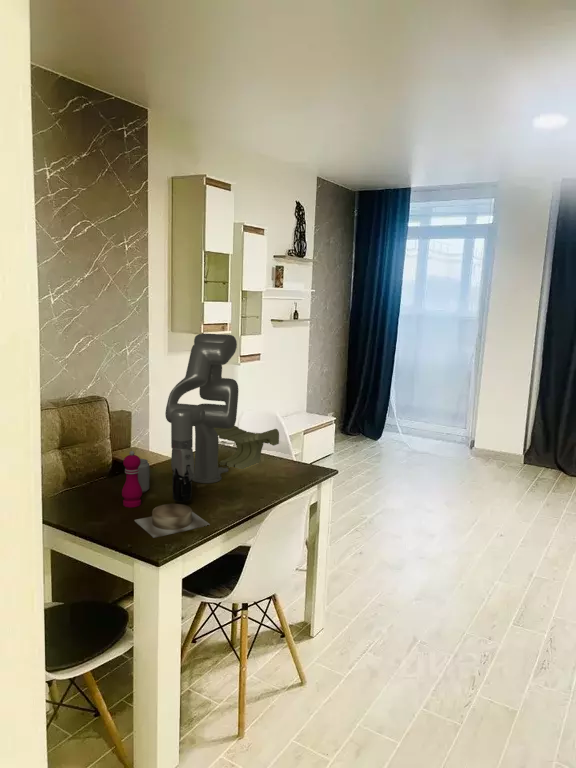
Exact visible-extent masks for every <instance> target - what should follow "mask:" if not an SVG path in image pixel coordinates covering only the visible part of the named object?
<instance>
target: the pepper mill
mask: <svg viewBox="0 0 576 768" xmlns="http://www.w3.org/2000/svg"><path fill="white" fill-rule="evenodd" d="M140 459H141V458H140V457H139V456H138V455H135V451H133V450H130V451H129V455H127V456H125V457H124V458H123V463H122V464H123V466H124V473H125V476H126V477H125V478H126V479H125V483H124V484H123V487H122V489H121V496H122V498H123V500H122V505H123V507H125V508H138V507H139V506H141V504H142V499H141V497H142V496H143V493H142V488H141V486H140V484H139V481H138V473H139V468H138V467H139V466H140V464H141V461H140Z"/></svg>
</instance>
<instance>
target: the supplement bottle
mask: <svg viewBox="0 0 576 768" xmlns="http://www.w3.org/2000/svg"><path fill="white" fill-rule="evenodd" d="M184 475H188V473H186V474H184ZM187 478H188V477H185V480H186V479H187ZM171 479H172V499H173V500H174V501H175V502H184V503H185V502H188V501H190V500H191V499H192V497H193V494H192V492H193V491H192V483H191V493H190V494H185V495H183V494H182V484H183V479H182V476H181V475H179V474H178V471H177V469H176V468H175V474H174V475H173V474H172V478H171Z"/></svg>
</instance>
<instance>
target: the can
mask: <svg viewBox="0 0 576 768" xmlns="http://www.w3.org/2000/svg"><path fill="white" fill-rule="evenodd" d="M140 461H141V464H140V466H139V467H138V468H139V473H138V481H139V484H140V486H141V488H142V494H143V493H146V492H147V491H148V490H149V489H150V463H149V461H148V459H145V458H140Z"/></svg>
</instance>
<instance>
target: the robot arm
mask: <svg viewBox="0 0 576 768" xmlns="http://www.w3.org/2000/svg"><path fill="white" fill-rule="evenodd" d="M237 346H238V342H237V339H236V337H235V336H234V335H232V334H221V333H200V334H197V335H195V337H194V340H193V345H192V347H191V350H190V353H189V354H190V355H189V358H188V364H187V368H186V372H185V376H184V378H182V379H181V380H180V381H179V382H177V383H176V385H175V386H174V387H173V388H172V390H171V391H170V392H169V395H168V398H167V401H166V402H167V403H166V408H165V419H166V421H167V422H168V423H170V425H171V426H170V433H171V434H170V437H171V438H170V440H171V443H170V444H171V445H170V447H171V458H170V460H171V462H170V463H171V464H170V467H171V470H172V476H173V475H174V474H175V468H176V469H177V471H178V474H179V475H181V476H182V479H183V484H182V494H183V495H185V494H190V493H191V484H192V483H193V482H195V483H198V484H213V483H217V482H220V481H221V480H222V479H223V478H222V473H228V472H229V467H223V466H220V467H219V443H220V442H219V441H220V438H219V436H218V435H217V433H216V431H215V429H214V428H226V429H229V428H233V427H234V426H236V422H237V415H238V402H239V385H238V382H237V381H236V380H235V379H233V378H227V377H222V373H223V365H226V364H228V362H230V360H231V359H232V357H233V356H234V354H235V353H236V351H237V348H238V347H237ZM198 388H199V391H198V392H199V393H198V394H199V397H200V398H201V399H202V400H205V401H213V402H224V403H225V404H217V403H200V404H188V403H180V402H179V400H180V399H181V397H182V396H184V395H185V394H187V393H188V392H190V391H194V390H196V389H198ZM178 402H179V403H178ZM193 427H194V429H193ZM193 430H194V431H195V432H194V434H193ZM193 436H194V440H195V442H194V446H193ZM193 447H194V449H193ZM193 450H194V451H193ZM186 473H188V475H184V474H186ZM185 477H188V478H187V479H186V480H185Z"/></svg>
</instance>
